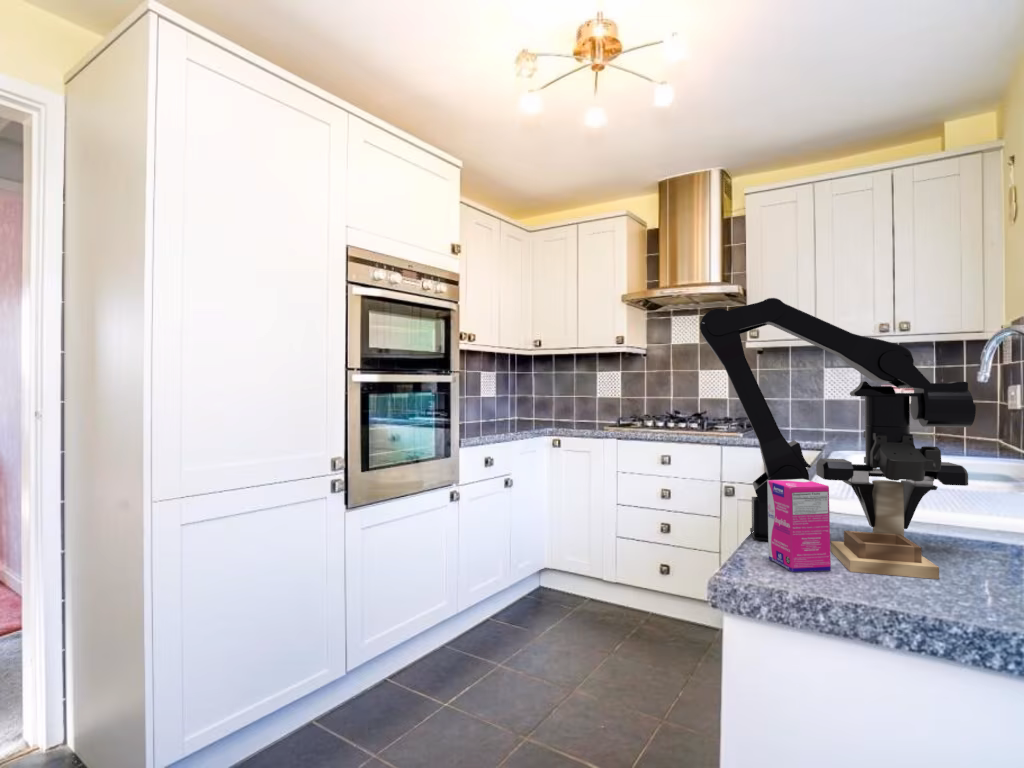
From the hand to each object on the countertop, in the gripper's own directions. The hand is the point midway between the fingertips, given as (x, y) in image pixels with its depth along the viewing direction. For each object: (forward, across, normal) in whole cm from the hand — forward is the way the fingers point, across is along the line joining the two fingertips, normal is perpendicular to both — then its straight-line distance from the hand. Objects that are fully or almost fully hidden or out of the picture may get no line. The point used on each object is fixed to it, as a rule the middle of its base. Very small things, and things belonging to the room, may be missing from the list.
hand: (888, 527), depth 85 cm
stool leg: (+3, 0, 0) cm, 3 cm away
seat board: (+3, -4, -10) cm, 11 cm away
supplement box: (+3, -15, -14) cm, 21 cm away
